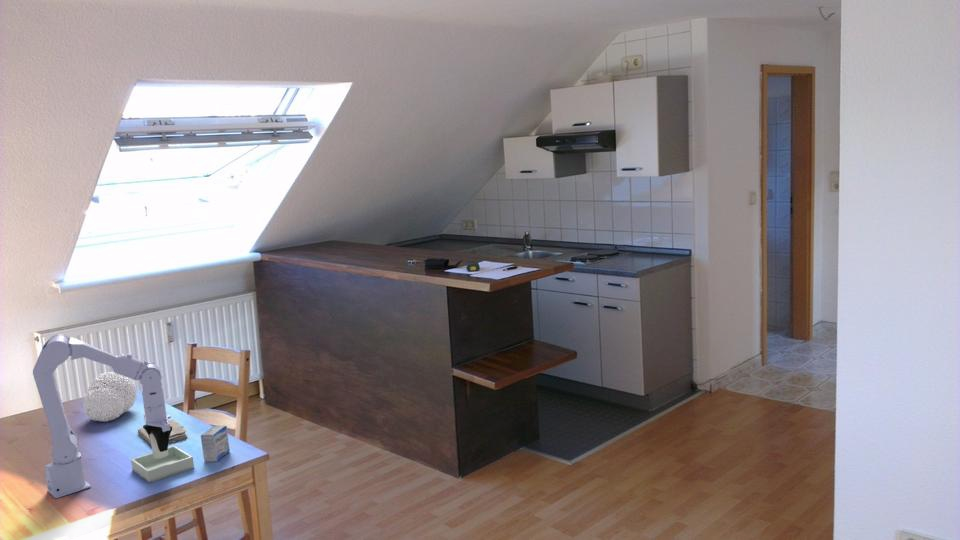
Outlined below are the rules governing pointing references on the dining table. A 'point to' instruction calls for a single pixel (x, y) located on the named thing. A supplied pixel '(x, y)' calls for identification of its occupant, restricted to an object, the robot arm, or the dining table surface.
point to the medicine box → (215, 443)
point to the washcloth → (175, 434)
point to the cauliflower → (109, 397)
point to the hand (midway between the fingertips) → (160, 448)
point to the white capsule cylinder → (155, 448)
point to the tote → (162, 464)
